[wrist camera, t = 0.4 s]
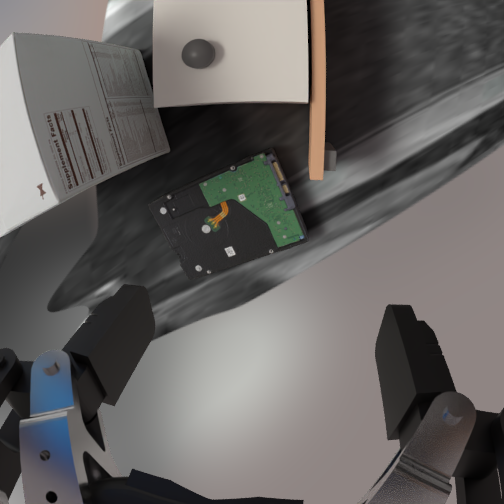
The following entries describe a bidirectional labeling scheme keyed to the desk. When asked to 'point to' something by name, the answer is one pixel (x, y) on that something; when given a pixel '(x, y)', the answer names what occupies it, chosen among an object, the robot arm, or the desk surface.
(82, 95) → the supplement box
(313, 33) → the door
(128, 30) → the desk surface
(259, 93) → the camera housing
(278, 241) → the disk drive
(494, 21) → the desk surface
